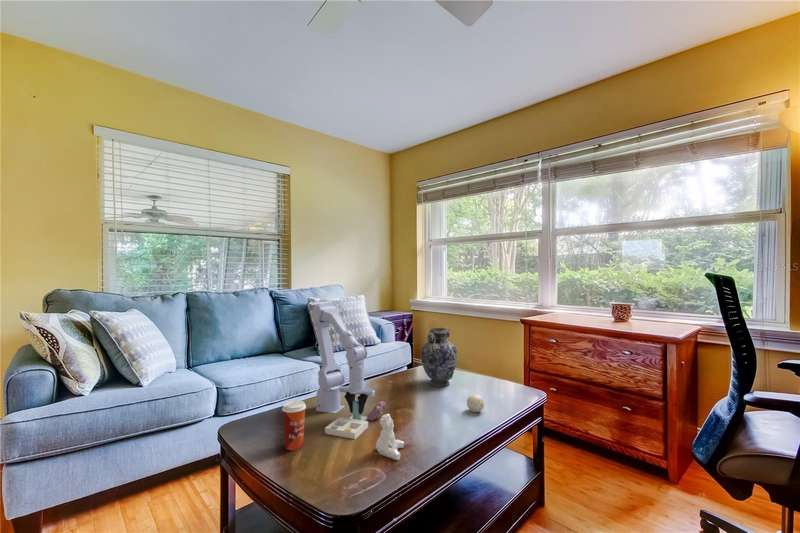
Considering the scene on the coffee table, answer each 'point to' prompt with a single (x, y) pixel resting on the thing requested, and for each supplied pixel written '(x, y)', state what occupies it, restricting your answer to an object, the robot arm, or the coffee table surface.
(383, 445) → the white creature statuette
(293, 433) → the paper cup
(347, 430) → the socket board
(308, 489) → the coffee table surface
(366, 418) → the mat
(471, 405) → the baseball
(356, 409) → the plug
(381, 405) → the video game controller
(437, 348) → the decorative vase
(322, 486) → the coffee table surface
